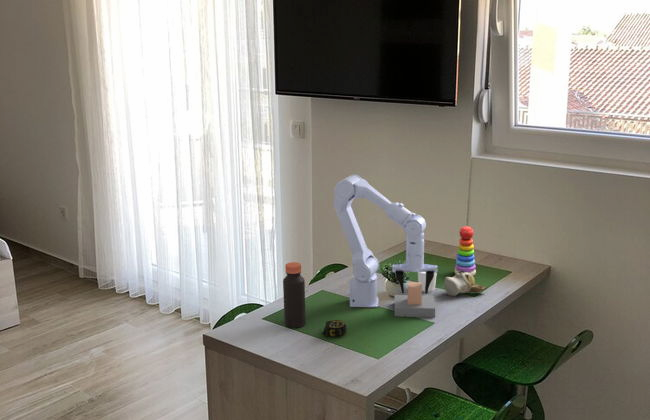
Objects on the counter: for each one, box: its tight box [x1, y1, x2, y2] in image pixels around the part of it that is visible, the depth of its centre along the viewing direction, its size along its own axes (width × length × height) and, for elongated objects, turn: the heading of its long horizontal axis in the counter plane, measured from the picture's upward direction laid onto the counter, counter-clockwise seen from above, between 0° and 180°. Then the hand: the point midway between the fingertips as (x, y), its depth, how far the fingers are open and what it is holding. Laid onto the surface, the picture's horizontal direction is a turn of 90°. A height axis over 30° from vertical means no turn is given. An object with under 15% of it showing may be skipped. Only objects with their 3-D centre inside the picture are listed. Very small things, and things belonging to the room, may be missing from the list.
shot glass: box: [417, 272, 438, 293], centre depth 247 cm, size 7×7×7 cm
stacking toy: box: [454, 225, 477, 277], centre depth 259 cm, size 8×8×19 cm
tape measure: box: [322, 319, 348, 338], centre depth 213 cm, size 7×7×4 cm
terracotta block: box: [407, 281, 423, 305], centre depth 228 cm, size 4×4×6 cm
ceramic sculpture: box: [444, 270, 489, 297], centre depth 243 cm, size 11×9×15 cm
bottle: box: [282, 261, 307, 329], centre depth 218 cm, size 7×7×20 cm
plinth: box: [394, 294, 436, 318], centre depth 229 cm, size 13×11×3 cm
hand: (414, 292), depth 228 cm, fingers open, 7 cm apart
